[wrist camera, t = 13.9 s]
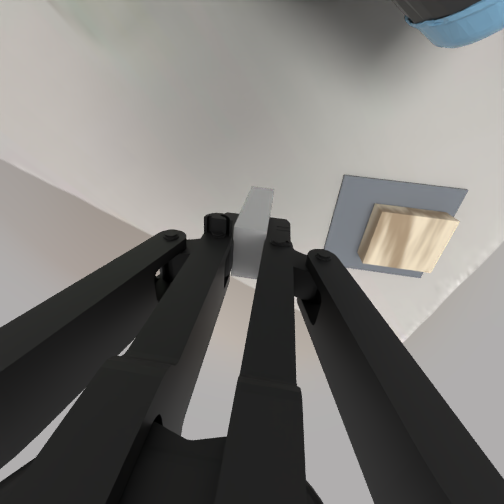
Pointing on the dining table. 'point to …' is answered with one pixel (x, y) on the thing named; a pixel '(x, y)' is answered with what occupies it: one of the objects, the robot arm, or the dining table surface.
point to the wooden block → (406, 237)
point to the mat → (360, 208)
